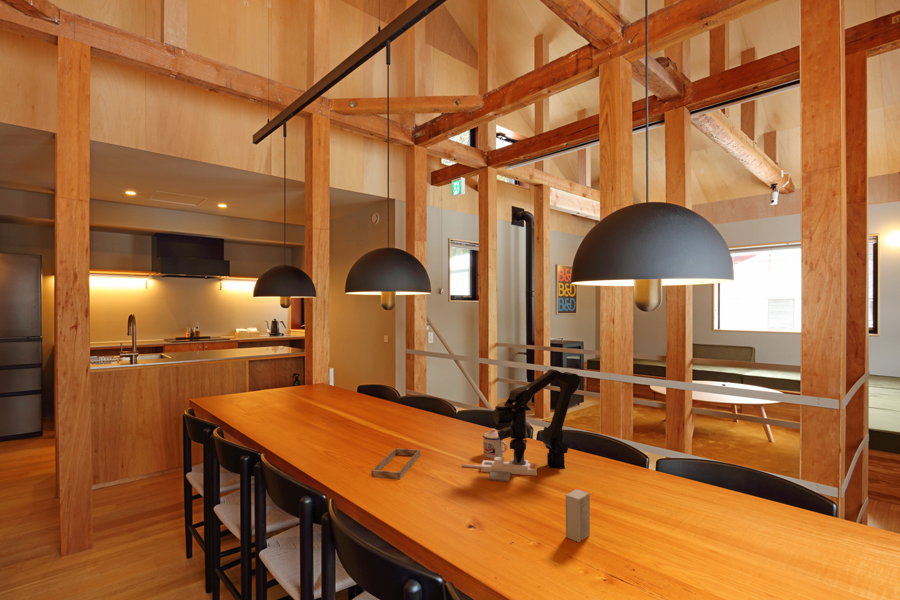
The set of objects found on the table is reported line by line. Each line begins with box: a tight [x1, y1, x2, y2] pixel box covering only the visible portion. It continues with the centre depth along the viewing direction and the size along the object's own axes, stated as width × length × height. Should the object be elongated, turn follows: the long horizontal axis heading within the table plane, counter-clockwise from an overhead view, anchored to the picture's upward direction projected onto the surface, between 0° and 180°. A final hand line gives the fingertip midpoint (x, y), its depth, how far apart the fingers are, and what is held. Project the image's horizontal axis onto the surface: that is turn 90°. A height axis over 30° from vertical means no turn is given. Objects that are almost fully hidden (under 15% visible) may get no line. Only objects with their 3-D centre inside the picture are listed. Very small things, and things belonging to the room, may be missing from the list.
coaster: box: [487, 471, 512, 482], centre depth 171 cm, size 8×8×1 cm
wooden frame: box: [370, 447, 421, 480], centre depth 183 cm, size 12×29×2 cm, turn 168°
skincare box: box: [565, 488, 591, 543], centre depth 125 cm, size 6×4×12 cm
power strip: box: [461, 456, 538, 476], centre depth 179 cm, size 30×8×4 cm, turn 78°
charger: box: [513, 449, 525, 465], centre depth 177 cm, size 4×4×6 cm
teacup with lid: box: [482, 428, 508, 459], centre depth 195 cm, size 12×9×12 cm
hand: (519, 460), depth 177 cm, fingers closed on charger, 4 cm apart
